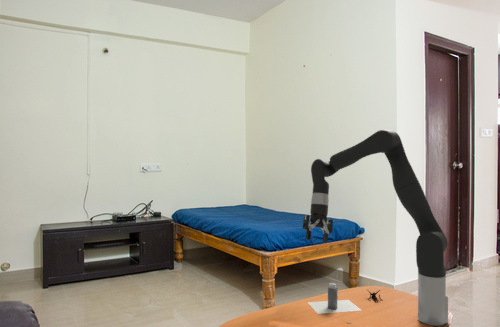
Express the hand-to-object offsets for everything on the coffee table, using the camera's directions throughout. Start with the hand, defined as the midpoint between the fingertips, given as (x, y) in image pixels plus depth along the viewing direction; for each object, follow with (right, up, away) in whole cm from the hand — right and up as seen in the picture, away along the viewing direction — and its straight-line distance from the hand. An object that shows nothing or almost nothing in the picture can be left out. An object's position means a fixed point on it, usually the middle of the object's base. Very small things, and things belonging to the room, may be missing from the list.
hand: (316, 241), depth 166 cm
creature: (+23, -25, -6) cm, 35 cm away
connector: (+4, -23, -15) cm, 28 cm away
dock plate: (+4, -24, -14) cm, 28 cm away
